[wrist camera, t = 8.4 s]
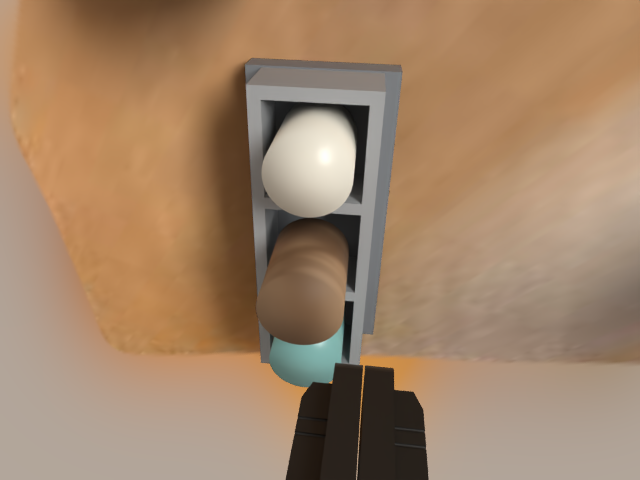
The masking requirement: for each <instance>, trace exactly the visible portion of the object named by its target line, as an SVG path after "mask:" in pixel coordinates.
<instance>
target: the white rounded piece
mask: <svg viewBox="0 0 640 480" xmlns="http://www.w3.org/2000/svg"><path fill="white" fill-rule="evenodd" d="M356 148H357V127H356V124H355V121H354V119H353V117H352V116H351V114H350V113H349V112H348V110H347V109H345V108H344V107H343V106H342V105H341V104H330V103H311V102H299V103H298V104H296V105H295V106H294V107H292V109H291V110H290V111H289V112H288V113H287V115H286V117H285V119H284V121H283V122H282V124H281V126H280V128H279V130H278V132H277V134H276V136H275V138H274V140H273V142H272V144H271V146H270V148H269V150H268V151H267V153H266V155H265V157H264V160H263V164H262V181H263V185H264V188H265V190H266V192H267V194H268V195H269V197H270V198H271V200H272V201H273V202H274V203H275V204H276V205H277V206H279V207H280V208H281V209H283V210H284V211H286V212H288V213H290V214H293V215H296V216H300V217H307V218H313V217H320V216H324V215H327V214H330V213H332V212H334V211H335V210H337V209H338V208H339V207H340V206H341V205H343V203H344V202H345V201H346V200H347V198H348V196H349V195H350V192H351V190H352V186H353V180H354V169H355V159H356Z"/></svg>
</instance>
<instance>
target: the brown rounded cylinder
mask: <svg viewBox="0 0 640 480" xmlns="http://www.w3.org/2000/svg"><path fill="white" fill-rule="evenodd" d="M348 260H349V245H348V242H347V240H346V238H345V236H344V234H343V233H342V232H341V231H340V230H339V229H338V228H337V227H336V226H334V225H333V224H331V223H329V222H327V221H325V220H322V219H317V218H303V219H298V220H296V221H293V222H291V223H289V224H288V225H287V226H285V227H284V228H283V229H282V231H281V232H280V234H279V235H278V238H277V241H276V244H275V247H274V250H273V253H272V256H271V259H270V262H269V265H268V268H267V271H266V274H265V277H264V280H263V283H262V286H261V289H260V292H259V295H258V298H257V301H256V314H257V317H258V319H259V321H260V323H261V324H262V326H263V327H264V328H265V329H266V330H267V331H268V332H269V333H270V334H271V335H273V336H274V337H276V338H278V339H280V340H282V341H284V342H287V343H291V344H296V345H312V344H317V343H321V342H323V341H326V340H327V339H329V338H331V337H332V336H333V335H334V334H336V333H337V331H338V330H339V329H340V327H341V325H342V322H343V317H344V306H345V294H346V283H347V271H348Z"/></svg>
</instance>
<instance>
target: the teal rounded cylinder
mask: <svg viewBox="0 0 640 480" xmlns="http://www.w3.org/2000/svg"><path fill="white" fill-rule="evenodd" d="M345 309H346V301H345V306H344V317H343V322H342V325H341V327H340V329H339V330H338V331H337V333H336V334H334V335H333V336H332V337H331V338H329V339H327V340H326V341H323V342H321V343H317V344H312V345H296V344H291V343H287V342H284V341H282V340H280V339H278V338H276V337H274V340H273V343H272V347H271V351H270V355H269V361H270V365H271V367H272V369H273V371H274V372H275V373H276V374H277V375H278V376H279V377H280V378H281V379H283V380H284V381H286V382H288V383H290V384H293V385H296V386H300V387H309V386H310V385H311V384H312V382H320V383H329V382H330V381H332V380H333V374H334V367H335V363H341V357H342V345H343V333H344V321H345Z"/></svg>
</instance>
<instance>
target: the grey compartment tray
mask: <svg viewBox="0 0 640 480" xmlns="http://www.w3.org/2000/svg"><path fill="white" fill-rule="evenodd" d="M245 76H246V98H247V116H248V134H249V152H250V171H251V189H252V207H253V225H254V243H255V262H256V280H257V298H258V295H259V292H260V289H261V286H262V283H263V280H264V277H265V274H266V271H267V268H268V265H269V262H270V259H271V256H272V253H273V250H274V247H275V244H276V241H277V238H278V235H279V234H280V232H281V231H282V229H283V228H284V227H285V226H287V225H288V224H289V223H291V222H293V221H296V220H298V219H303V218H307V217H300V216H296V215H293V214H290V213H288V212H286V211H284V210H283V209H281V208H280V207H279V206H277V205H276V204H275V203H274V202H273V201H272V200H271V198H270V197H269V195H268V194H267V192H266V190H265V188H264V185H263V181H262V164H263V160H264V157H265V155H266V153H267V151H268V150H269V148H270V146H271V144H272V142H273V140H274V138H275V136H276V134H277V132H278V130H279V128H280V126H281V124H282V122H283V121H284V119H285V117H286V115H287V113H288V112H289V111H290V110H291V109H292V107H294V106H295V105H296V104H298V103H299V102H311V103H330V104H341V105H342V106H343V107H344V108H345V109H347V110H348V112H349V113H350V114H351V116H352V117H353V119H354V121H355V124H356V127H357V148H356V159H355V169H354V180H353V186H352V190H351V192H350V195H349V196H348V198H347V200H346V201H345V202H344V203H343V205H341V206H340V207H339V208H338V209H337V210H335V211H334V212H332V213H330V214H327V215H324V216H320V217H313V218H317V219H322V220H325V221H327V222H329V223H331V224H333V225H334V226H336V227H337V228H338V229H339V230H340V231H341V232H342V233H343V234H344V236H345V238H346V240H347V242H348V245H349V260H348V271H347V283H346V294H345V301H346V309H345V321H344V333H343V345H342V357H341V363H343V364H354V365H359V364H360V353H361V343H362V334H373V329H374V320H375V312H376V303H377V294H378V285H379V276H380V267H381V258H382V249H383V240H384V231H385V223H386V214H387V205H388V196H389V187H390V178H391V169H392V160H393V151H394V143H395V134H396V125H397V116H398V107H399V98H400V89H401V80H402V68H401V65H385V64H364V63H343V62H322V61H302V60H281V59H260V58H251V59H250V60H249V61H248V62H247V63H246V64H245ZM259 335H260V353H261V363H270V361H269V355H270V351H271V347H272V343H273V340H274V336H273V335H271V334H270V333H269V332H268V331H267V330H266V329H265V328H264V327H263V326H262V324H261V323H260V321H259Z"/></svg>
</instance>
